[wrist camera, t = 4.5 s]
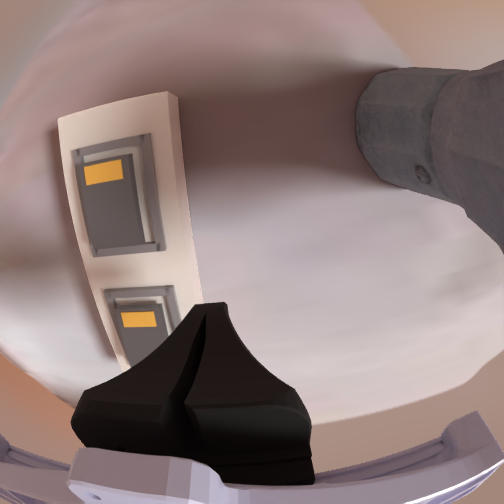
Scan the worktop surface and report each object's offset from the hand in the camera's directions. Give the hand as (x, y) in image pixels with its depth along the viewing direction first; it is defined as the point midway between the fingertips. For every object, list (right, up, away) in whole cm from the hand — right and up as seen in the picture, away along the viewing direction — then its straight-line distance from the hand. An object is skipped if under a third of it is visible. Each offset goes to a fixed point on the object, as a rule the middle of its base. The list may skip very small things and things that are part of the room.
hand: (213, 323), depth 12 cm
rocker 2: (-5, -3, +6) cm, 8 cm away
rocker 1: (-6, +6, +2) cm, 8 cm away
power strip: (-6, +3, +8) cm, 10 cm away
